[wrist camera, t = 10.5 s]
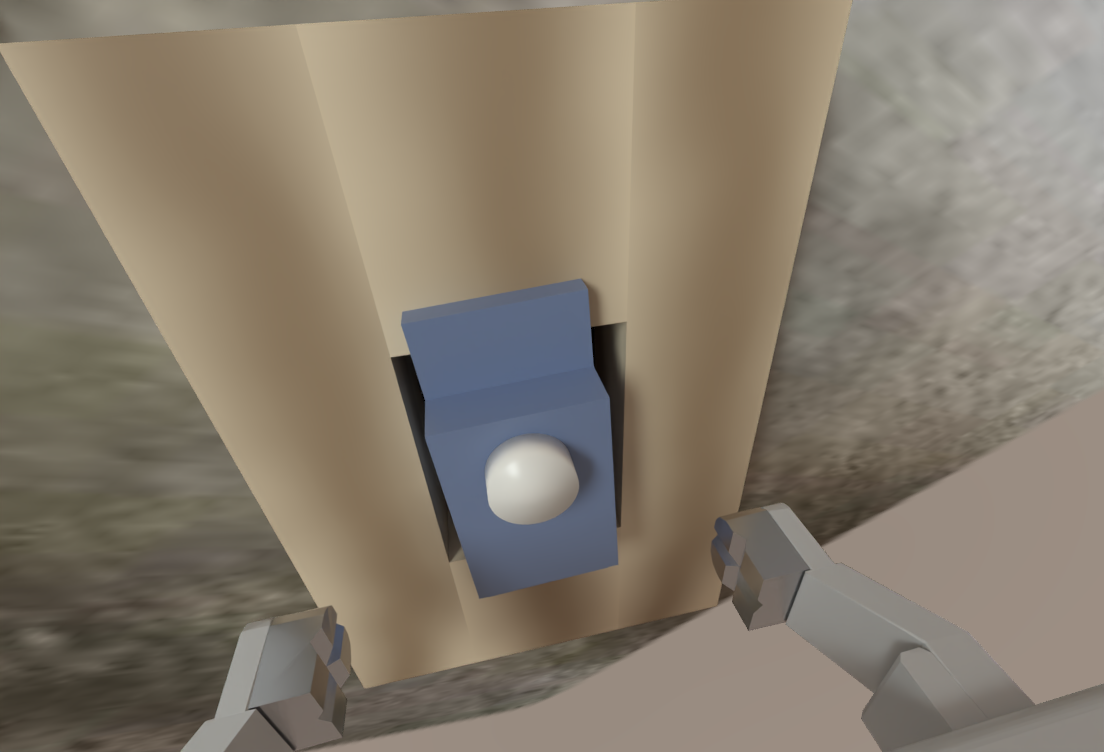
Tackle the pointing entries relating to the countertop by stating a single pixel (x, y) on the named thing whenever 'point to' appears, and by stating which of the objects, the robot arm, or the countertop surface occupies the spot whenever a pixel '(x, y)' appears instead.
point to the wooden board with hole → (459, 267)
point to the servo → (519, 433)
